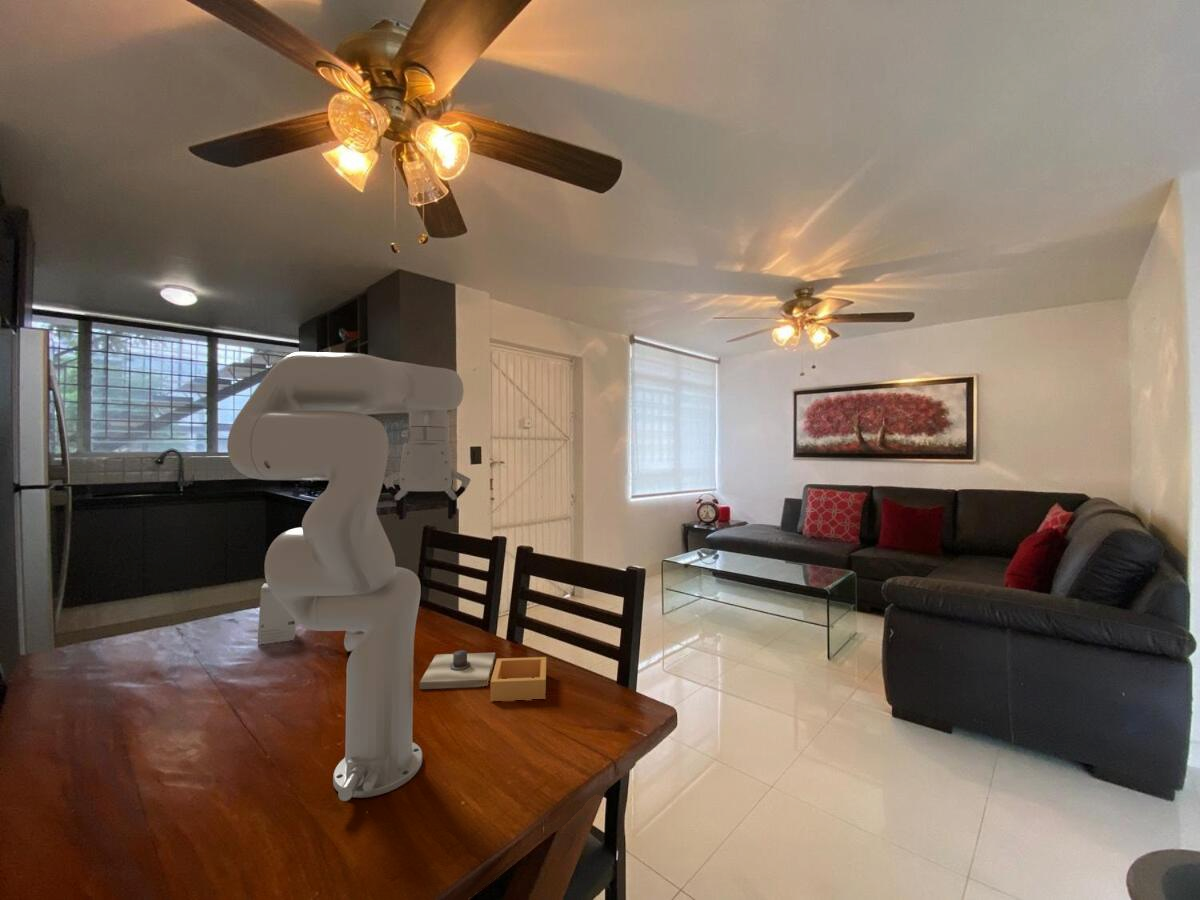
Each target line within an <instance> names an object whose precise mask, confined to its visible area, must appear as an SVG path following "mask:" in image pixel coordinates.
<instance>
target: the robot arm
mask: <svg viewBox="0 0 1200 900" xmlns="http://www.w3.org/2000/svg"><path fill="white" fill-rule="evenodd" d="M463 398H464V384H463V381H462V378H461V376H460V375H459V373H458V372H457V371H455V370H453V369H450V368H445V367H437V366H431V365H422V364H416V363H411V362H405V361H396V360H391V359H386V358H382V357H379V356H378V357H377V356H374V355H369V354H365V353H359V352H358V353H356V352H322V351H321V352H320V351H319V352H317V351H296V352H292V353H290V354H288V355H286V356H284V357H283V358H282V359H280V360H279V361H278V362H276V363H275V365H273V367H272V368H270V370H269V371H268V373H267V374H266V375H265V376H264V377H263V379H262V380H261V381H260V383H259V384H258V386H257V387H256V388H255V390H254V391H253V393H252V394H251V395H250V397H249V399H247V402H246V403H245V404H244V406H243V407H242V408H241V409H240V411H239V412H238V414H237V416H236V417H235V419H234V421H233V423H232V426H231V427H230V430H229V432H228V436H227V446H226V447H227V455H228V457H229V461H230V463H231V465H232V466H233V468H235V469H236V470H237V471H238V472H239V473H240V474H242V475H244V476H245V477H249V478H252V479H256V480H262V481H328V484H327V486H326V488H325V490H324V491H323V492H322V493H320V494H319V495H318V496H317V498H315V499H314V501H313V502H312V503H311V504H310V506H309V508H308V509H307V510H306V512H305V514H304V516H303V518H302V521H301V527H300V526H298V527H294V528H291V529H288V530H286V531H284V532H282V533H280V534H279V535H277V537H275V539H274V540H273V541H272V542H271V544H270V546H269V547H268V550H267V551H266V554H265V557H264V558H265V559H264V577H265V583H267V585H268V587H269V589H270V591H271V593H272V594H273V595H274V597H275V598H276V599H277V600H278V601H279V602H280V603H281V605H282V606H283V607H284V608H285V609H286V610H287V611H288V612H289V613H290V614H291V615H292V617H293V618H294V619H295V620H296V623H298V624H299V625H301V626H302V627H303V628H305V629H307V630H309V631H310V630H311V631H317V632H318V631H319V632H320V631H321V632H335V631H336V632H337V631H339V632H341V631H345V632H346V631H347V630H353V631H363V632H365V636H364V638H363V639H362V640H361V642H360V643H359V644H358V645H357V646H356V647H355V648H354V650H353V651H352V652H350V655H349V657H348V659H347V663H346V676H345V677H346V685H345V686H346V689H345V690H346V691H345V692H346V695H345V696H346V697H345V698H346V699H345V750H344V752H345V755H344V758H343V759H341V760H340V761H339V763H338V764H337V765H336V767H335V768H334V771H333V776H332V783H333V787H334V789H335V790H336V791H337V792H338V793H337V796H338V799H339V800H340V801H343V802H348V801H349V800H350V799H352V798H360V799H361V798H371V797H376V796H380V795H383V794H386V793H389V792H392V791H393V790H396V789H398V788H399V787H401V786H403V785H405V784H406V783H408V782H409V781H410V780H411V779H412V778H413V777H414V776H416V774H417V773H418V772H419V770H420V769H421V766H422V763H423V751H422V748H421V747H420V746H419V745H418V744H417V743H415V742H413V720H414V718H413V717H414V716H413V715H414V714H413V713H414V709H413V707H414V654H415V653H414V651H415V650H414V649H415V648H414V647H415V645H414V644H415V632H416V631H415V630H416V625H417V618H418V612H419V606H420V600H421V595H422V594H421V593H422V592H421V591H422V590H421V589H422V588H421V587H422V585H421V582H420V578H419V577H418V575H417V574H416V573H415V572H413V571H412V570H411V569H408V568H406V567H401V566H396V556H395V553H394V551H393V547H392V545H391V543H390V540H389V538H388V535H387V534H386V532H385V530H384V527H383V525H382V523H381V520H380V518H379V515H378V514H377V506H378V503H379V498H380V495H381V491H382V488H383V485H384V486H385V488H386V489H387V492H388V493H389V494H390V495H391V496H392V497H393V498H394V500H395V501H396V516H398V519H399V521H400V520H401V521H404V519H406V518H407V509H408V508H407V504H408V503H407V499H406V495H408V493H409V492H445V493H446V495H448V497H449V499H448V501H447V503H448V504H447V507H448V508H447V519H448V520H453V519H454V516H456V515H457V514H458V511H457V510H458V504H457V503H458V498H459V497H460V496H461V495H462V494H464V493H465V492H466V490H467V488H468V487H469V485H470V482H471V481H472V480H471V478H470V477H468V476H466V475H464V474H462V473H460V472H458V471H456V470H454V462H453V453H452V448H451V443H449V442H448V411H452V410H456V409H457V408H458V407H459V406H460V405H461V403H462V401H463ZM404 413H408V427H407V429H405V430H401V432H400V433H401V434H400V435H401V437H402V438H405V439H407V441H408V442H404V443H403V447H402V452H401V459H400V469H399V470H398V471H396V472H394V473H393V474H390V475H387V476H385V475H386V470H387V465H388V458H389V450H390V447H389V445H390V443H389V436H388V433H387V430H386V428H385V426H384V425H383V423H381V421H379V420H378V419H377V418H375V417H374V416H372V415H379V414H404ZM454 478H455V479H456V480H458V481H460V482H461V484H460V486H459V487H458V489H456V490H455V488H453V487H454ZM398 479H399V480H398ZM395 480H398V481H399V488H400V490H399V489H398V488H396V487H395V485H394V481H395Z"/></svg>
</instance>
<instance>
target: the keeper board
mask: <svg viewBox="0 0 1200 900" xmlns="http://www.w3.org/2000/svg"><path fill="white" fill-rule="evenodd" d="M495 662H496V652H477V653H476V652H473V653H472V652H471V653H469V652H468V651H467V650H463V649H462V650H457V651H454V652H453V653H440V654H435V655H434V657H433V659H432V661H431V662H430V664H429V666H428V667H427V669H426V670H425V672H424V674H423V675H422V678H421V679H420V681H419V690H433V689H434V690H435V689H438V690H440V689H456V688H457V689H459V688H483V687H484V686H487V687H488V685H489V682H488V681H490V679H491V675H490V674H492V670H493V667H494V665H495V664H494V663H495ZM481 686H482V687H481Z"/></svg>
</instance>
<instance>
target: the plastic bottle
mask: <svg viewBox="0 0 1200 900" xmlns="http://www.w3.org/2000/svg"><path fill="white" fill-rule="evenodd" d="M364 636H365V632H363V631H353V630H347V631H345V634H344V640H343V644H344V649H345V650H346V651H347V652H350V653H352V651H353V650H354V648H355V647H356V646H357V645H358V644H359V643H360V642H361V640H362V639H363V638H364Z"/></svg>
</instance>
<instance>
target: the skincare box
mask: <svg viewBox="0 0 1200 900" xmlns="http://www.w3.org/2000/svg"><path fill="white" fill-rule="evenodd" d="M259 601H260V602H259V614H258V615H259V616H258V630H257V631H258V632H257V643H256V644H257V646H262V645H261V644H264V645H268V644H267V643H271V644H276V643H275V642H278V643H281V642H283V641H284V642H291V641H290V640H292V641H295V637H296V634H297V633H296V632H297V621H296V620H295V619H294V618H293V617H292V615H291V614H290V613H289V612H288V611H287V610H286V609H285V608H284V607H283V606H282V605H281V603H280V602H279V601H278V600H277V599H276V598H275V597H274V595H273V594H272V593H271V591H270V589H269V587H268V585H267V582H265V583H263V584H262V586H261V587H260V598H259Z"/></svg>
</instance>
